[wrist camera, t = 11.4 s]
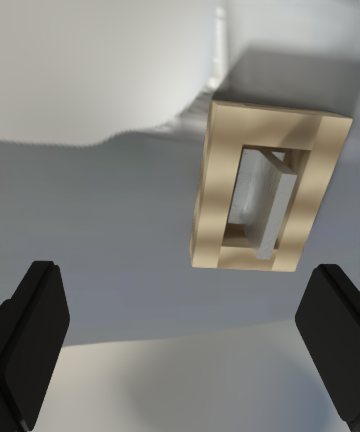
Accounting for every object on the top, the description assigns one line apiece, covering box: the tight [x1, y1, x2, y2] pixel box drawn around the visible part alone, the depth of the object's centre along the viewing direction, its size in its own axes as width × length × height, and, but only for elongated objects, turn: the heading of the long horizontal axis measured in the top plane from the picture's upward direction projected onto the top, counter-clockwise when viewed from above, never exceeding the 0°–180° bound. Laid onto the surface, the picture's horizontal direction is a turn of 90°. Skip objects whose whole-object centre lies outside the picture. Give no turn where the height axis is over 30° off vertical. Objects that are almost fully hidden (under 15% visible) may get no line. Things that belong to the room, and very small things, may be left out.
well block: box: [190, 99, 353, 272], centre depth 35 cm, size 20×14×4 cm
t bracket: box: [227, 147, 297, 260], centre depth 32 cm, size 10×5×8 cm, turn 174°
